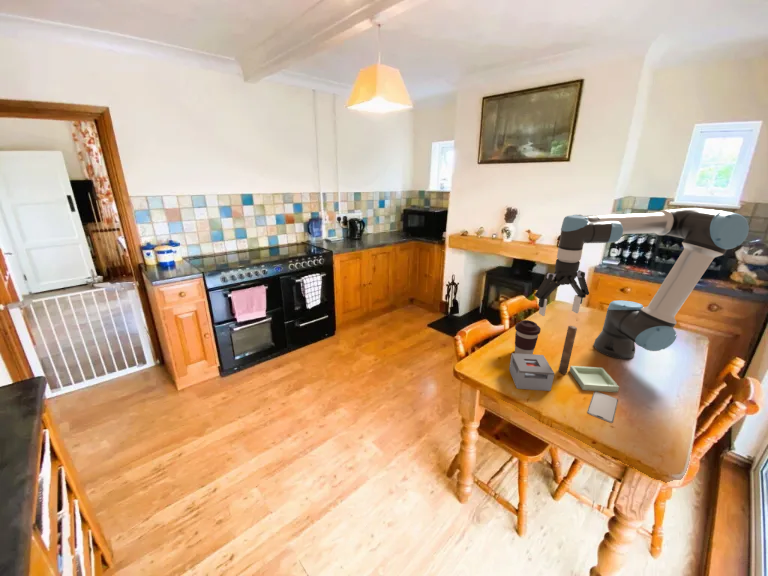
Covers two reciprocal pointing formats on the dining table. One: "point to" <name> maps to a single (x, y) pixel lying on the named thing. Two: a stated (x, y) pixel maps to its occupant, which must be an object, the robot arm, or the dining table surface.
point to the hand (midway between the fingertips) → (558, 313)
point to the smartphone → (603, 406)
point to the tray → (593, 379)
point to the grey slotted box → (531, 372)
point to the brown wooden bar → (567, 349)
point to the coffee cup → (526, 336)
